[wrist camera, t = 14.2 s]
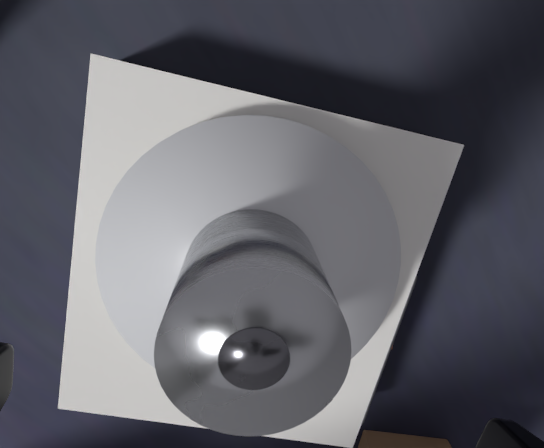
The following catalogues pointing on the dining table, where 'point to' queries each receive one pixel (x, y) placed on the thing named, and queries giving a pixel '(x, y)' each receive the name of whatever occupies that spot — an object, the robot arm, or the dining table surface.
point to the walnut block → (399, 441)
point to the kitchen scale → (224, 199)
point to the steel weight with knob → (252, 329)
